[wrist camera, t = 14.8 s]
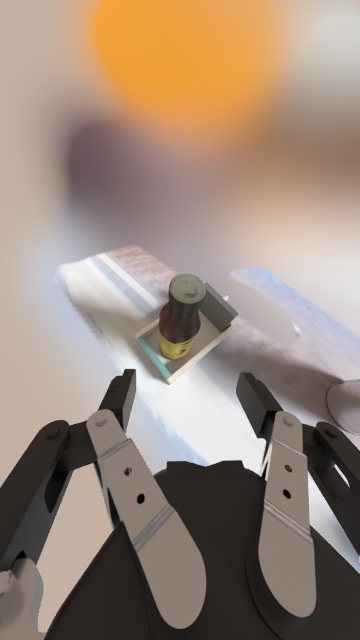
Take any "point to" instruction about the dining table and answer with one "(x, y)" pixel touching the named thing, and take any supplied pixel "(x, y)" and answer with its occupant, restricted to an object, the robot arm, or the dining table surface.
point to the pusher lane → (199, 348)
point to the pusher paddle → (217, 309)
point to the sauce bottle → (180, 316)
